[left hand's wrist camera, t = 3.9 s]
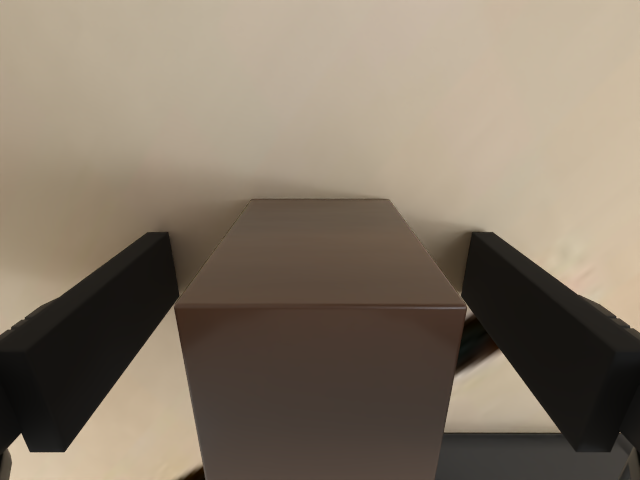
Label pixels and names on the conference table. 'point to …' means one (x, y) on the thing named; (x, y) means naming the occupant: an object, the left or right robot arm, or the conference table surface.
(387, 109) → the conference table surface
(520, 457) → the dark grey open box
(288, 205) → the block
